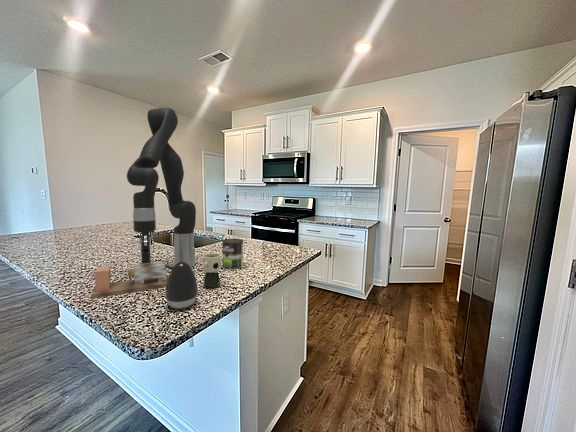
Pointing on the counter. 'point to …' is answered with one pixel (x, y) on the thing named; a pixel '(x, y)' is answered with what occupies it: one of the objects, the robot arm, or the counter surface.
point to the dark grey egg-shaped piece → (181, 286)
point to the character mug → (211, 269)
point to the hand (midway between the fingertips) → (146, 261)
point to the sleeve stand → (138, 280)
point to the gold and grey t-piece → (131, 271)
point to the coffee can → (232, 254)
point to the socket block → (102, 278)
